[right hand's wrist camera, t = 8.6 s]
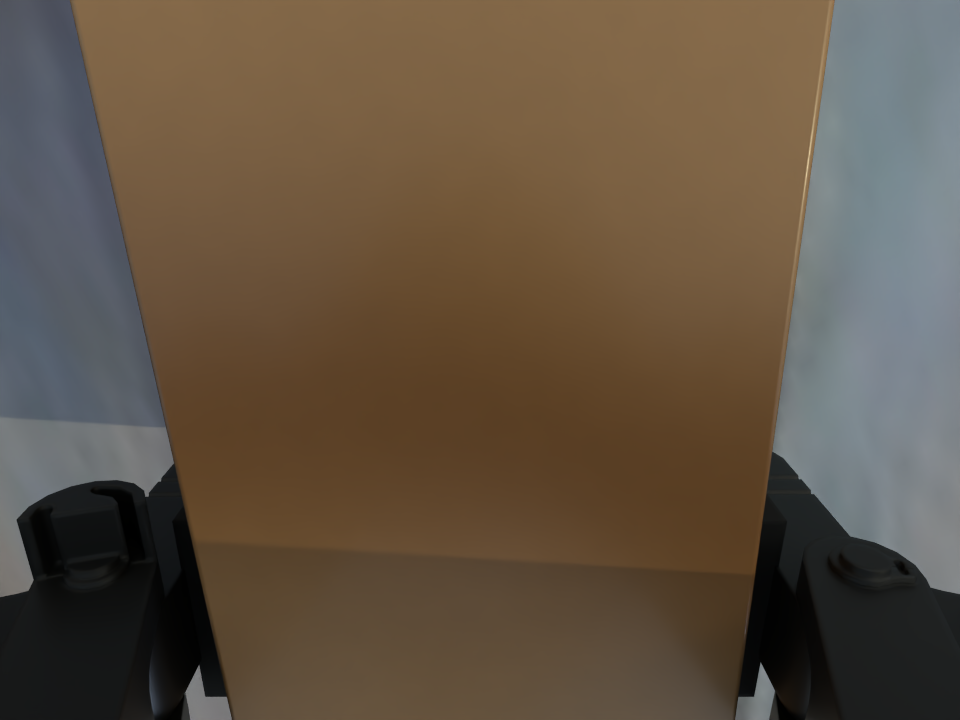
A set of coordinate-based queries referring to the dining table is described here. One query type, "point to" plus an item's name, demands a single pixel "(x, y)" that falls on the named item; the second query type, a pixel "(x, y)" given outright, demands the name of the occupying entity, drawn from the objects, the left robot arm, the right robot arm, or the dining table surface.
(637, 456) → the beam
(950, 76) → the dining table surface
